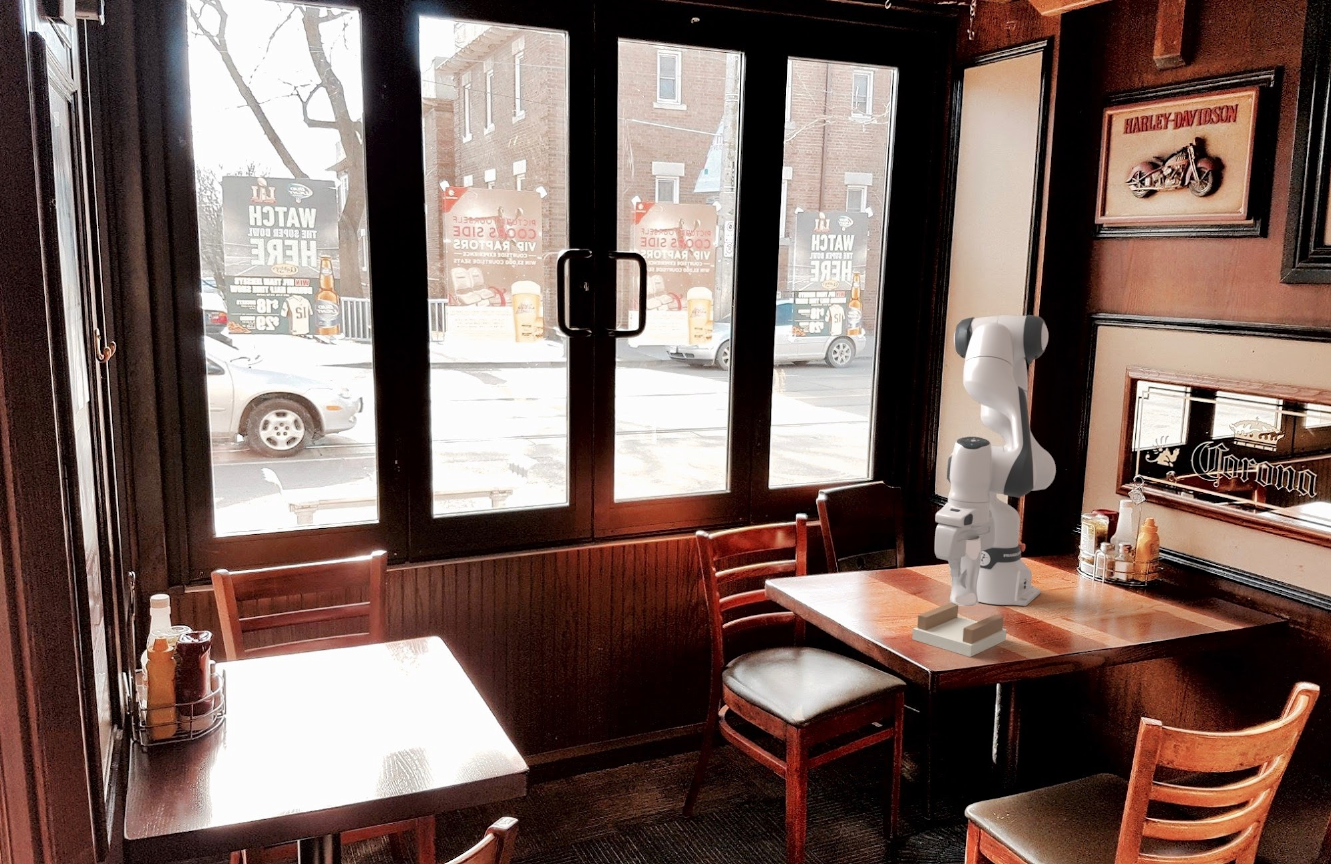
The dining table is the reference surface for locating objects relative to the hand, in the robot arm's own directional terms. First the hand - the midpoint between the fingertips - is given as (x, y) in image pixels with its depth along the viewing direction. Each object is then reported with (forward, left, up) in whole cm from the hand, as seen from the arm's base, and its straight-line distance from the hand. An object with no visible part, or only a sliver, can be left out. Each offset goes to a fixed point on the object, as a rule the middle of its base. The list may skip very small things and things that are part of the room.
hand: (963, 573), depth 217 cm
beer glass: (0, 0, -7) cm, 7 cm away
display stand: (0, 0, -15) cm, 15 cm away
